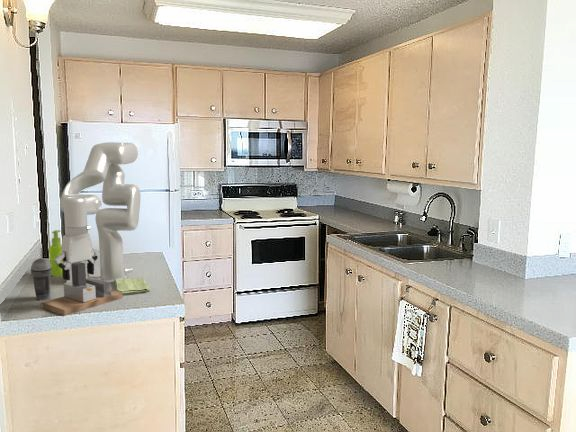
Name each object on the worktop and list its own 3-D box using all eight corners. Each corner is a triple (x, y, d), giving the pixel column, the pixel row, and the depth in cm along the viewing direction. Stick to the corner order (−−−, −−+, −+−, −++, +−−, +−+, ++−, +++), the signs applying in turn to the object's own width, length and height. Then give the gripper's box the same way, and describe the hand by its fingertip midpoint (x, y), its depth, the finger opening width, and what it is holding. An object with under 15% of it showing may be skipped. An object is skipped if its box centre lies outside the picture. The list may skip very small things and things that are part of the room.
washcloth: (116, 297, 187) (116, 289, 186) (112, 285, 202) (112, 278, 202) (151, 293, 192) (150, 285, 191) (144, 282, 208) (144, 275, 207)
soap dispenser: (68, 272, 221) (65, 229, 218) (61, 276, 214) (59, 232, 211) (55, 272, 221) (52, 229, 218) (48, 276, 214) (45, 232, 211)
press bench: (100, 291, 193) (99, 274, 192) (122, 297, 185) (122, 280, 184) (42, 307, 173) (41, 288, 172) (64, 315, 165) (63, 295, 164)
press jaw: (76, 293, 183) (74, 259, 181) (98, 299, 175) (96, 265, 173) (64, 296, 178) (62, 262, 177) (85, 303, 171) (84, 267, 169)
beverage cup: (48, 294, 188) (45, 244, 185) (57, 298, 184) (54, 247, 181) (29, 298, 183) (25, 247, 180) (37, 302, 178) (34, 250, 175)
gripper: (91, 226, 183) (93, 270, 185) (47, 233, 169) (50, 280, 171) (103, 228, 179) (105, 273, 181) (59, 235, 164) (62, 283, 167)
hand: (78, 276), depth 176 cm, fingers open, 9 cm apart
